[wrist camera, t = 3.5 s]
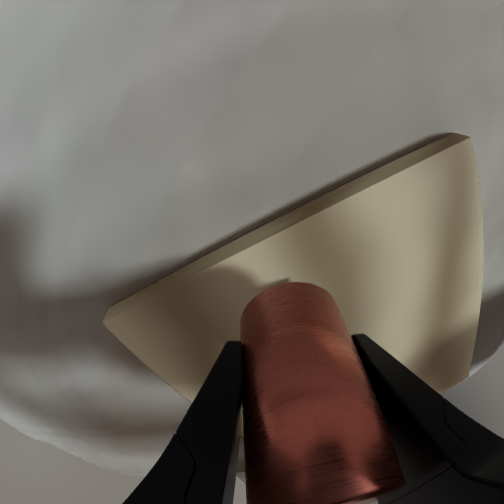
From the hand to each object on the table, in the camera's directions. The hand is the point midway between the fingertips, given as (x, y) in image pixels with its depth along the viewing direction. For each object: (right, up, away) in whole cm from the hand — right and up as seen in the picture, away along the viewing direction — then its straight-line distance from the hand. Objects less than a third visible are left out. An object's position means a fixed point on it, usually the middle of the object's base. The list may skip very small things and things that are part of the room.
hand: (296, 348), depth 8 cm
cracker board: (+3, -4, +7) cm, 9 cm away
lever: (+4, -5, +6) cm, 8 cm away
